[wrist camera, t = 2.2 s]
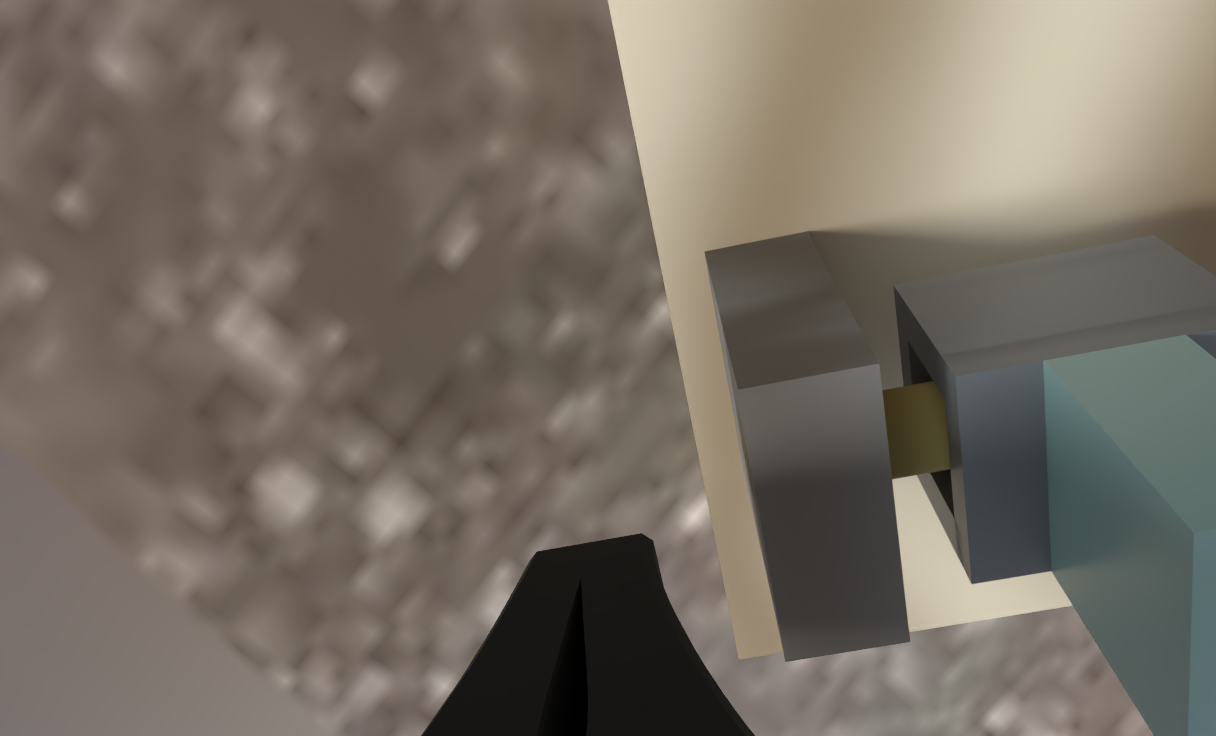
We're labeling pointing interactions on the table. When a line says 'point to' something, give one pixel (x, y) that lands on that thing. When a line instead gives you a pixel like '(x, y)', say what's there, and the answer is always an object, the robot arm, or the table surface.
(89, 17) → the table surface
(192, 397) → the table surface
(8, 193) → the table surface
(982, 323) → the sleeve
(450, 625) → the table surface
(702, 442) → the rod and block board
